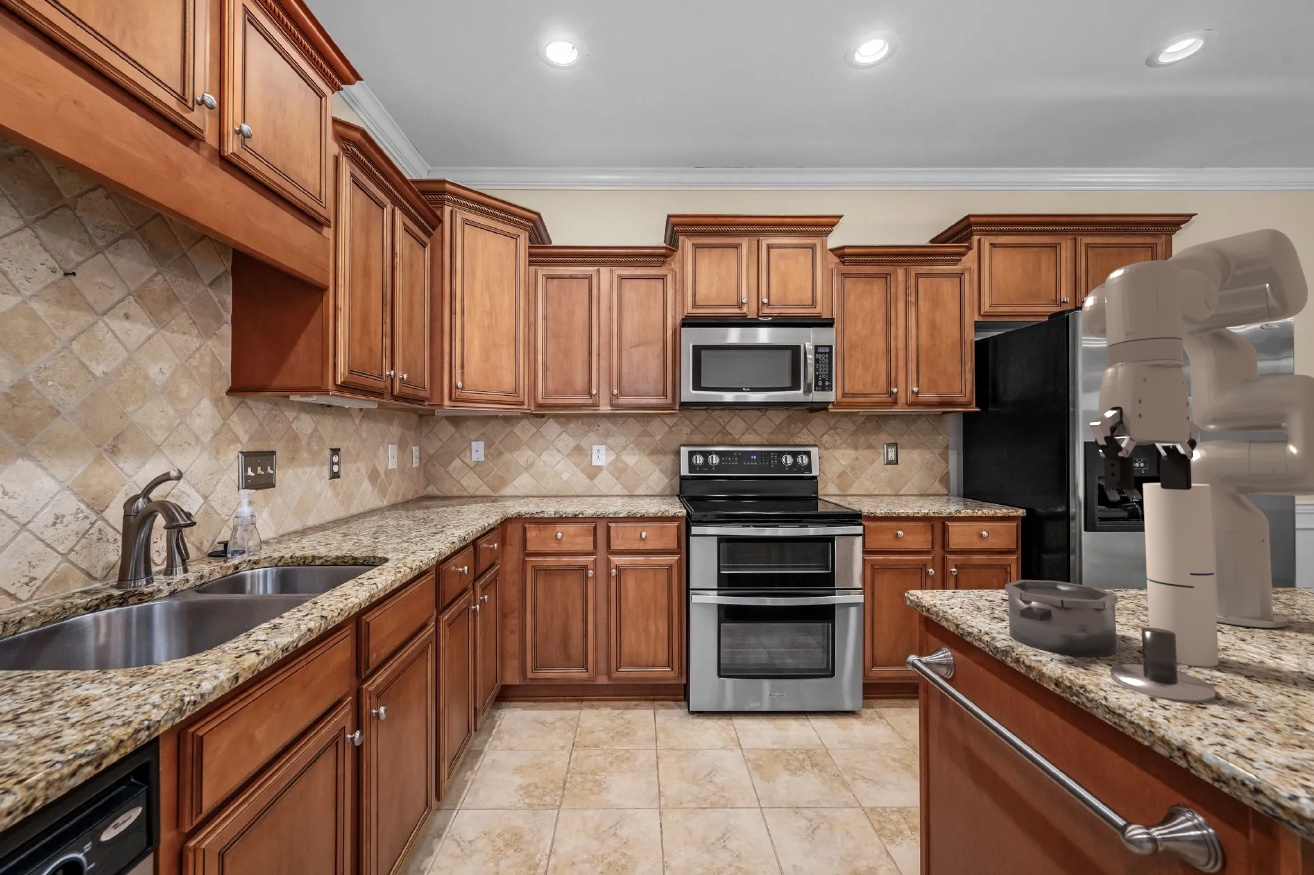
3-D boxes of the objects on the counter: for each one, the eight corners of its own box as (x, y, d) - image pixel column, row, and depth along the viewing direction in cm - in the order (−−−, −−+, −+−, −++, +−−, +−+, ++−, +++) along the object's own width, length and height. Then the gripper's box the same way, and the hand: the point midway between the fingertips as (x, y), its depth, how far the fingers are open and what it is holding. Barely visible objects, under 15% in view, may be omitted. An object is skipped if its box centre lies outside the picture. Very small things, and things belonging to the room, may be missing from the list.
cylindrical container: (1233, 668, 75) (1224, 485, 76) (1172, 664, 76) (1164, 485, 77) (1193, 649, 82) (1185, 483, 83) (1138, 647, 83) (1131, 483, 84)
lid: (1124, 666, 76) (1122, 615, 77) (1224, 690, 68) (1221, 634, 68) (1099, 683, 71) (1097, 629, 71) (1204, 712, 63) (1201, 650, 63)
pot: (1040, 618, 98) (1038, 573, 98) (1138, 639, 87) (1136, 588, 87) (982, 642, 86) (980, 591, 86) (1087, 670, 75) (1085, 611, 75)
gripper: (1160, 367, 77) (1164, 488, 76) (1064, 359, 73) (1067, 487, 72) (1226, 357, 70) (1232, 491, 69) (1124, 348, 66) (1128, 489, 65)
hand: (1148, 489), depth 71 cm, fingers open, 9 cm apart
